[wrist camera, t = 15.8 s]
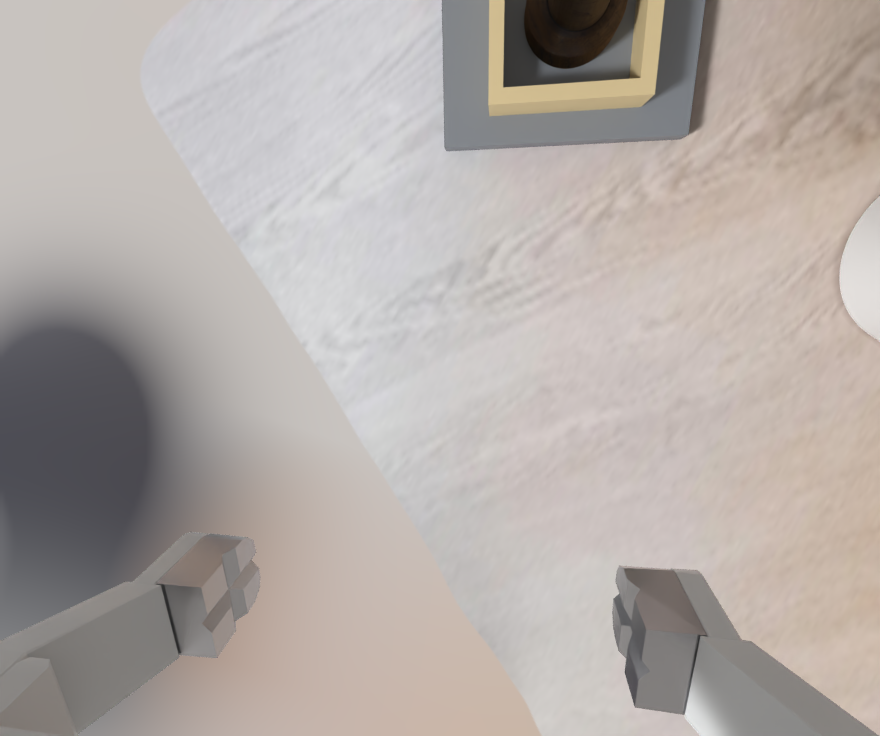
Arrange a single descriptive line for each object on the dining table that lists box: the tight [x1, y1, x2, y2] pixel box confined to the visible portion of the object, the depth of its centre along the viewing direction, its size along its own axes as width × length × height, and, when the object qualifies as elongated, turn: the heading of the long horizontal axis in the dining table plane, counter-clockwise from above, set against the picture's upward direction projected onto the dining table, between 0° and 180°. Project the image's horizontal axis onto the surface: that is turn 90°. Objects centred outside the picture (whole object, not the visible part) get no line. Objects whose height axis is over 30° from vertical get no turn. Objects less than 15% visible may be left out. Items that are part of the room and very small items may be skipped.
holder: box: [442, 0, 706, 151], centre depth 30 cm, size 18×16×4 cm
